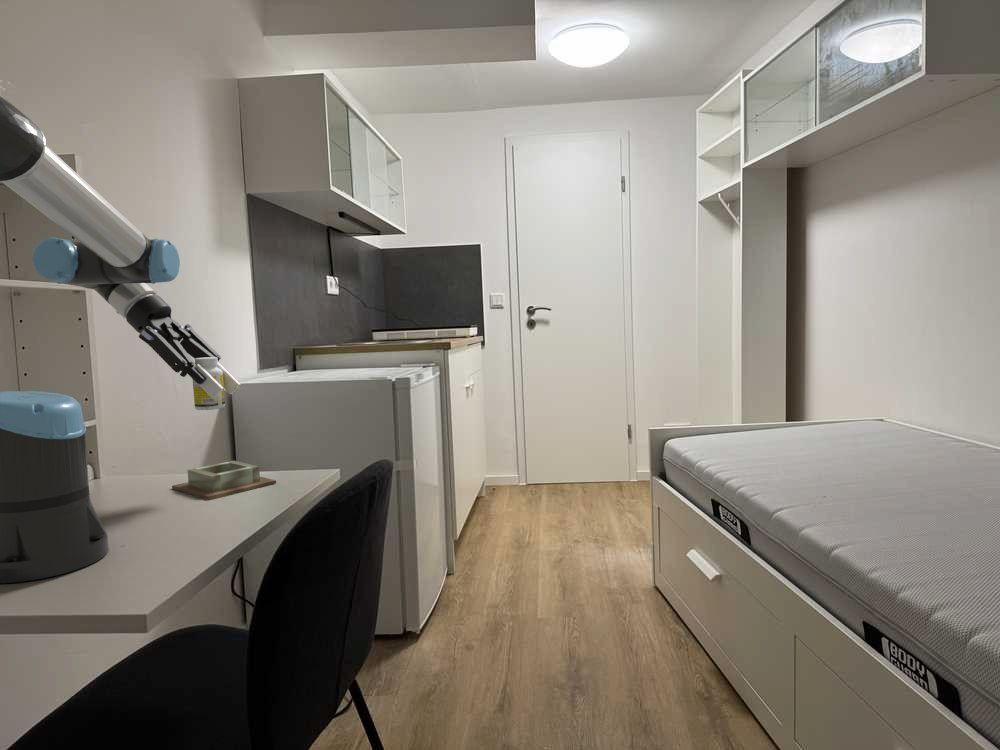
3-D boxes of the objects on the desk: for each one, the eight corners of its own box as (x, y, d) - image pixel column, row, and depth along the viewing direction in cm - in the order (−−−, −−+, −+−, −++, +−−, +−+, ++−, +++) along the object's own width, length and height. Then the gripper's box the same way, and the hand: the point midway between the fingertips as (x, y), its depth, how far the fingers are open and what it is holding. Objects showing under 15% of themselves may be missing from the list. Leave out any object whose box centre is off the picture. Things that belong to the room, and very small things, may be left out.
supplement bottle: (211, 405, 130) (208, 356, 129) (231, 407, 128) (228, 357, 127) (188, 409, 125) (184, 358, 124) (208, 411, 123) (204, 359, 122)
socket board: (208, 499, 120) (207, 480, 119) (172, 488, 128) (170, 470, 128) (276, 483, 131) (275, 465, 130) (238, 474, 139) (237, 457, 139)
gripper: (160, 320, 136) (240, 398, 135) (95, 322, 118) (186, 413, 117) (182, 293, 135) (262, 372, 134) (119, 292, 117) (212, 383, 116)
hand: (226, 391), depth 126 cm, fingers closed on supplement bottle, 5 cm apart
